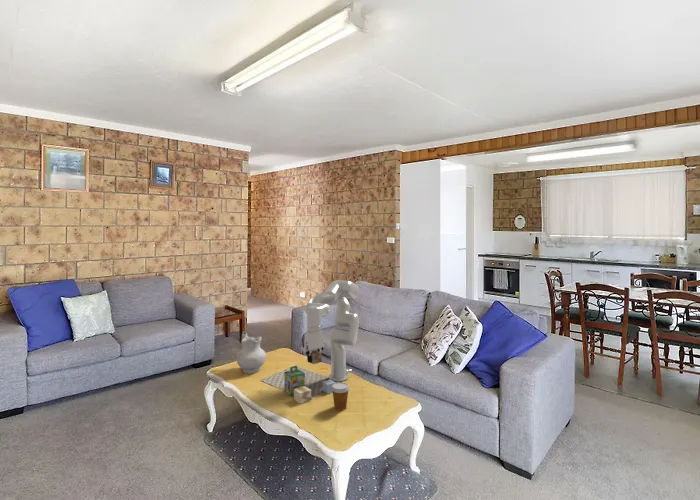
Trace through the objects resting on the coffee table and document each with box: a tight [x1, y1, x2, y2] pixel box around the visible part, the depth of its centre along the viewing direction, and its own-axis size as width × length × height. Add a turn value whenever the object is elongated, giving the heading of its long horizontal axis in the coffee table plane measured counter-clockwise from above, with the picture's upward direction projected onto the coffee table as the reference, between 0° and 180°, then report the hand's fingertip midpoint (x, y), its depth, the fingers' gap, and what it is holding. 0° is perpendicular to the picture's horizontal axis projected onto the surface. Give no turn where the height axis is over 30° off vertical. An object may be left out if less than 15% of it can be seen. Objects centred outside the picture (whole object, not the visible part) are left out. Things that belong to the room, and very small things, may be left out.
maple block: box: [293, 385, 312, 405], centre depth 213 cm, size 7×7×6 cm
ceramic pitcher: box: [236, 331, 267, 375], centre depth 257 cm, size 22×20×25 cm
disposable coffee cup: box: [331, 381, 350, 411], centre depth 204 cm, size 10×10×12 cm
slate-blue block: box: [321, 379, 336, 395], centre depth 224 cm, size 6×6×6 cm
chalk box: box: [284, 365, 306, 397], centre depth 224 cm, size 9×9×15 cm
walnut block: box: [311, 349, 322, 365], centre depth 211 cm, size 6×6×6 cm
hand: (314, 360), depth 211 cm, fingers closed on walnut block, 5 cm apart
